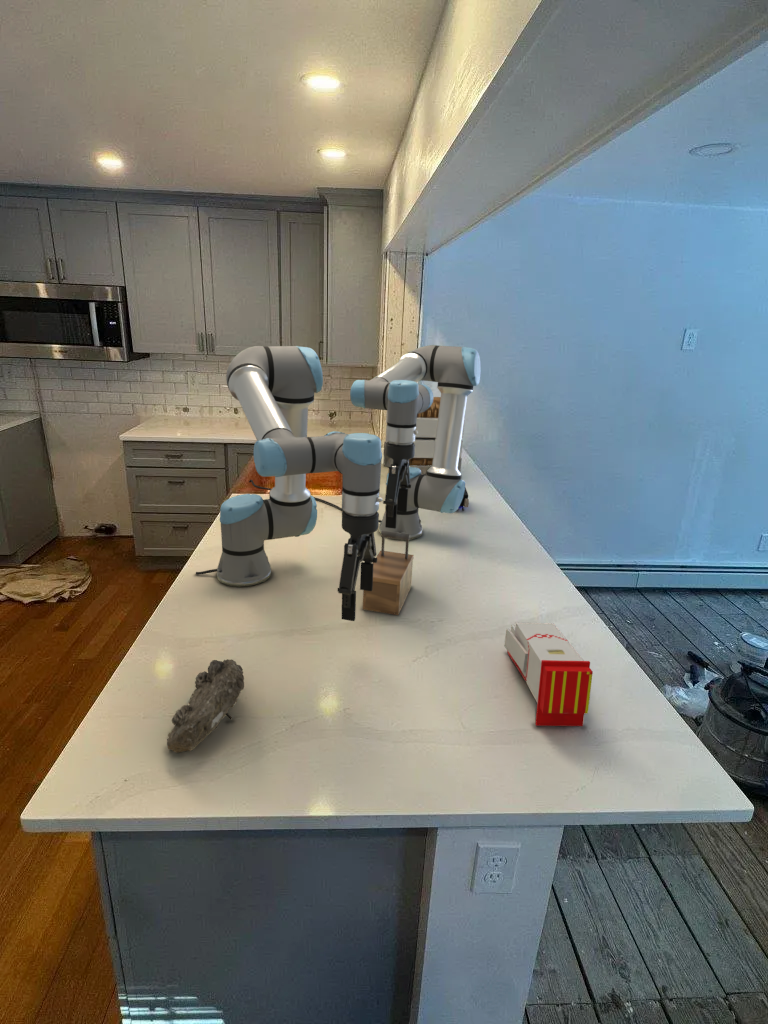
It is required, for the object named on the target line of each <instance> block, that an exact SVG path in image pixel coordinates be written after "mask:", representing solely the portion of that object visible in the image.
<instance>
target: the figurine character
mask: <svg viewBox="0 0 768 1024" xmlns="http://www.w3.org/2000/svg"><path fill="white" fill-rule="evenodd" d="M469 505H470V500H469V492H468V490H467V488H466V486H465V491H464V495H463V499H462V501H461V504H460V506H459V508H458V509H461V511H462V512H464V511H465V508H469Z"/></svg>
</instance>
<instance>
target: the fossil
mask: <svg viewBox="0 0 768 1024" xmlns="http://www.w3.org/2000/svg"><path fill="white" fill-rule="evenodd" d="M243 670H244V669H243V667H242V665H240V664H237V662H236V661H235V660H234V659H232V658H231V659H227V658H226V659H224V660H223V661H222V660H217V659H212V660H211V661H210V663H209V665H208V666H207V671H201V672H199V673H198V674H197V675H196V676H195V680H194V684H195V685H194V687H195V689H194V690H193V693H192V694H191V697H190V698H189V700H188V704H184V705H182V706H181V707H180V709H177V710H176V711H175V713H174V715H173V716H172V718H171V723H172V724H173V727H172V730H171V731H170V732H168V734H167V738H166V741H167V742H166V745H167V749H168V750H169V751H173V752H174V753H176V754H178V753H182V752H188V751H189V752H192V751H193V750H195V748H196V747H197V746H199V744H200V743H201V742H203V741H204V740H205V739H206V738H207V737H208V736H209V735H210V734H211V733H212V732H214V730H215V729H217V727H218V726H219V724H220V722H221V721H222V720H223V719H224V718H225V716H226V717H227V719H229V720H233V717H232V715H230V714H229V710H230V709H231V708H234V706H235V704H236V703H237V702H238V699H239V697H240V695H241V693H242V691H243V690H245V689H244V688H245V675H244V671H243Z"/></svg>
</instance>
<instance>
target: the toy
mask: <svg viewBox="0 0 768 1024" xmlns="http://www.w3.org/2000/svg"><path fill="white" fill-rule="evenodd" d="M503 645H504V647H505V649H506V650H507V655H508V656H509V658H510V659H511V662H513V664H514V666H515V667H516V669H517V670H518V672H519V673H520V675H521V676H522V679H523V680H524V681H525V683H526V686H527V687H528V689H529V690H530V693H531V694H532V696H533V698H534V700H535V701H536V703H537V704H536V714H535V722H534V723H535V726H537V727H541V726H542V727H583V726H584V719H585V715H586V714H587V715H588V714H589V706H590V705H589V704H590V699H591V691H592V683H593V682H592V681H593V674H594V673H593V672H594V671H593V670H592V669H591V668H590V667H591V661H590V660H584V659H583V658H582V657H581V655H580V654H579V653H578V651H577V650H576V649H575V648H574V647H573V645H572V644H571V643H570V642H569V640H568V639H567V638H566V636H564V633H562V632H561V630H560V629H559V628H558V627H557V625H556V624H555V623H553V622H515V624H511V625H510V628H506V630H505V638H504V644H503Z"/></svg>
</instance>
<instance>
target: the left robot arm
mask: <svg viewBox="0 0 768 1024" xmlns="http://www.w3.org/2000/svg"><path fill="white" fill-rule="evenodd" d="M225 375H226V376H225V377H226V380H225V381H226V385H227V388H228V391H229V393H230V395H231V396H232V398H234V399H235V400H236V401H238V402H239V404H240V406H241V409H242V411H243V413H244V415H245V418H246V420H247V422H248V424H249V426H250V429H251V430H252V433H253V435H254V437H255V439H256V441H255V443H254V445H253V462H254V465H255V470H256V472H257V474H258V475H259V476H261V477H264V478H266V477H268V478H269V477H274V486H273V487H272V488H271V490H269V495H268V497H269V498H266V499H263V497H262V495H260V494H256V493H243V494H237V495H234V496H231V497H230V498H228V499H226V500H224V502H222V504H221V505H220V508H219V522H220V536H221V554H220V559H219V562H218V565H217V567H216V568H213V569H207V570H202V571H196V572H195V575H196V576H199V575H201V576H202V575H205V574H206V575H207V574H210V573H216V578H217V580H218V581H219V582H220V583H221V584H223V585H225V586H230V587H236V588H237V587H239V588H241V587H242V588H243V587H253V586H256V585H259V584H262V583H265V582H266V581H267V580H269V579H270V577H271V576H272V567H271V564H270V561H269V557H268V555H267V553H266V551H265V541H269V540H277V539H285V538H286V539H287V538H292V537H294V538H295V537H296V538H298V537H300V536H305V535H309V534H310V533H312V532H313V531H314V529H315V527H316V524H317V520H318V509H317V507H318V505H317V500H315V498H316V497H315V496H313V495H311V491H310V490H309V489H308V488H307V487H306V482H307V474H319V473H330V472H332V473H333V472H339V473H340V474H341V475H342V487H341V488H342V489H341V508H342V509H343V510H344V511H341V529H342V530H343V531H344V532H346V533H348V534H349V535H350V536H349V538H348V540H347V542H346V543H344V545H343V558H342V564H341V565H342V566H341V571H340V577H339V584H338V587H337V593H338V594H341V620H344V621H345V620H346V621H351V622H355V621H356V609H357V607H356V606H357V602H356V601H357V591H356V585H357V580H358V575H359V571H360V577H359V579H360V580H359V584H360V585H359V590H361V591H363V590H366V591H372V588H373V564H372V563H377V558H376V557H377V547H376V539H375V532H377V531H378V530H379V525H380V522H379V520H380V513H379V512H378V511H379V509H380V503H382V502H383V498H382V496H380V491H381V490H380V489H381V473H382V458H383V452H382V440H381V438H380V437H379V436H378V435H376V434H371V433H367V432H354V433H349V434H348V433H345V432H342V431H338V430H337V431H336V430H334V431H330V432H327V433H326V434H324V435H319V436H318V435H317V436H316V435H315V436H308V420H309V406H311V404H312V403H313V402H314V401H315V394H318V393H320V392H321V391H322V390H323V385H324V375H323V368H322V364H321V361H320V358H319V356H318V354H317V353H316V351H315V350H314V349H313V348H311V347H309V346H308V347H307V346H299V345H267V346H266V345H265V346H264V345H255V346H249V347H247V348H245V349H243V350H241V351H240V352H239V353H237V354H236V355H235V356H234V357H233V358H232V360H231V361H230V363H229V365H228V366H227V369H226V374H225ZM314 497H315V498H314Z"/></svg>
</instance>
